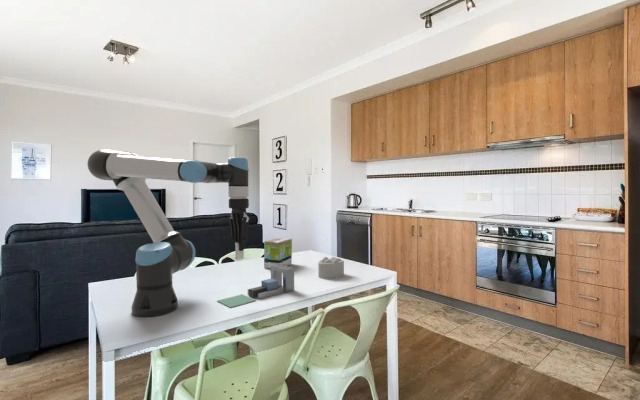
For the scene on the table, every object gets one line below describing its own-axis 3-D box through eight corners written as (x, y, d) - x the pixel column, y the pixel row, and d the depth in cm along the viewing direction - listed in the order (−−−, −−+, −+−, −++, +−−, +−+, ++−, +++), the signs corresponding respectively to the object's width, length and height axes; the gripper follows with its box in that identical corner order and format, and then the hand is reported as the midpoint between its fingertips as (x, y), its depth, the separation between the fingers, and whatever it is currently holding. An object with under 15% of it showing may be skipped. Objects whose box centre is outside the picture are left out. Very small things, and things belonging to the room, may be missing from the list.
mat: (230, 308, 125) (230, 307, 125) (217, 301, 132) (217, 300, 132) (255, 300, 132) (255, 300, 132) (242, 294, 140) (242, 294, 140)
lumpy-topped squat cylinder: (346, 275, 170) (346, 258, 169) (327, 280, 161) (327, 262, 161) (332, 271, 177) (332, 254, 177) (313, 275, 169) (313, 258, 168)
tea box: (280, 270, 181) (280, 242, 180) (263, 268, 184) (263, 241, 184) (292, 263, 195) (292, 238, 194) (276, 262, 198) (276, 237, 198)
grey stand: (260, 299, 134) (260, 275, 133) (246, 293, 141) (245, 270, 141) (294, 290, 145) (294, 268, 145) (279, 285, 153) (279, 264, 153)
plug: (254, 298, 135) (254, 286, 135) (248, 296, 138) (248, 283, 138) (277, 292, 143) (277, 280, 143) (271, 289, 146) (271, 278, 146)
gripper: (256, 198, 129) (257, 259, 130) (238, 197, 139) (239, 254, 140) (239, 198, 124) (239, 263, 125) (221, 197, 134) (222, 257, 135)
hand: (239, 258), depth 132 cm, fingers closed
